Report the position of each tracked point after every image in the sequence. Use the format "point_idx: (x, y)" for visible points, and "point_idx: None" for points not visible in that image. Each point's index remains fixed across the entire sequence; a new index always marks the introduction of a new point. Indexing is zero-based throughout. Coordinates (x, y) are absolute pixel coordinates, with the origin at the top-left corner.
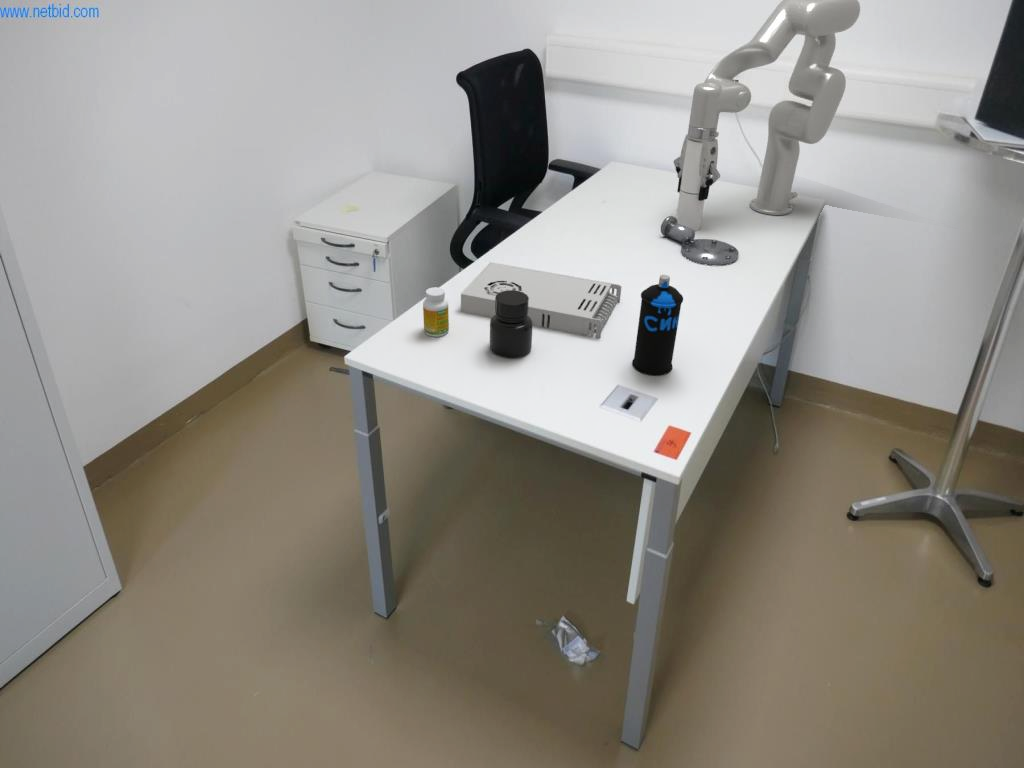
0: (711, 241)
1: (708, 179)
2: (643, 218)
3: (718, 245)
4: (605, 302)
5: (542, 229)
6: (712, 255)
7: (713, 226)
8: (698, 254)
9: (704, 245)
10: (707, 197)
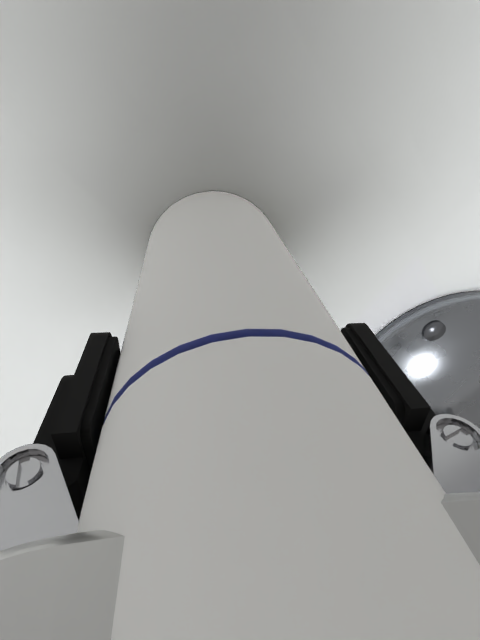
0: (421, 337)
1: (458, 491)
2: (21, 357)
3: (460, 343)
4: None
5: None
6: (472, 410)
7: (303, 127)
8: None
9: (416, 381)
10: (366, 326)
